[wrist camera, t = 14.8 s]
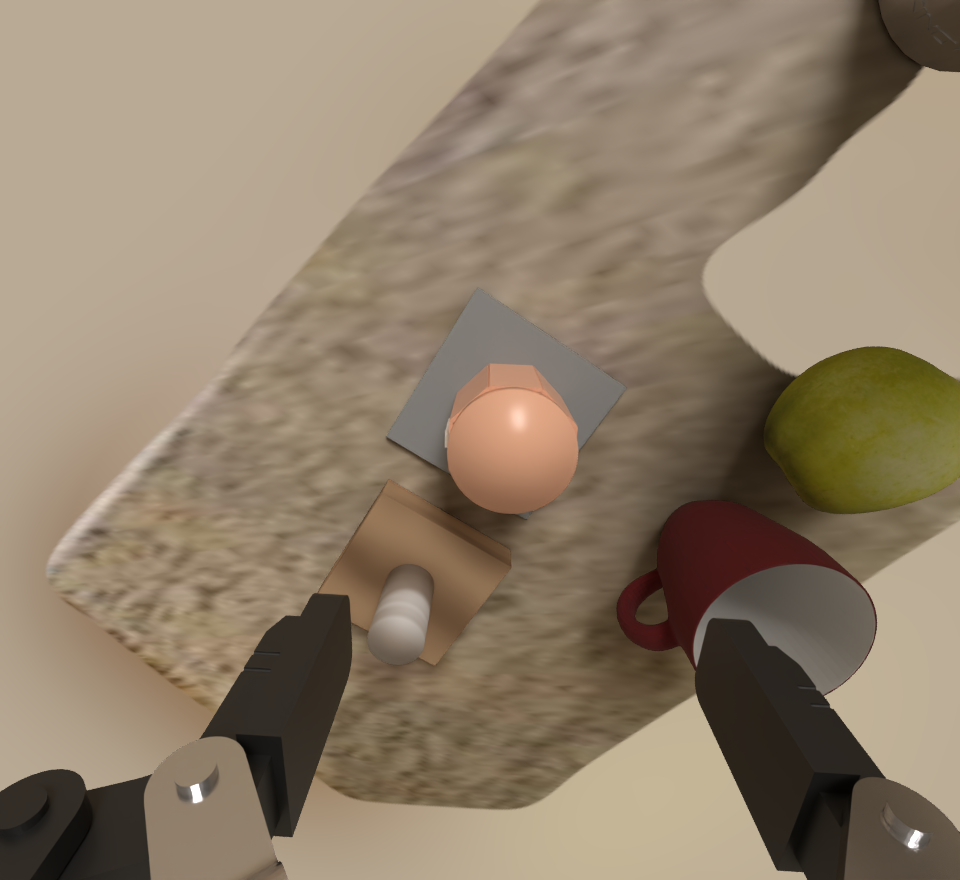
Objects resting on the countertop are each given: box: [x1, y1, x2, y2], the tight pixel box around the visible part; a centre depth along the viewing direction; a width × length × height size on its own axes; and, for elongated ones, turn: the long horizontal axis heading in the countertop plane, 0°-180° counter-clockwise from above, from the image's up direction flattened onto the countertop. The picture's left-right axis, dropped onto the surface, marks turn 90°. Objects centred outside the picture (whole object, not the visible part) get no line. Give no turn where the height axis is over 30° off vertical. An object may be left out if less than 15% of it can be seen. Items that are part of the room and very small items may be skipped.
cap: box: [445, 364, 578, 514], centre depth 26 cm, size 6×6×6 cm
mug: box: [617, 500, 877, 696], centre depth 27 cm, size 11×8×10 cm
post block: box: [318, 480, 511, 666], centre depth 30 cm, size 9×9×7 cm
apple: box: [763, 347, 960, 514], centre depth 25 cm, size 8×9×8 cm
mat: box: [386, 288, 626, 520], centre depth 29 cm, size 10×10×1 cm
